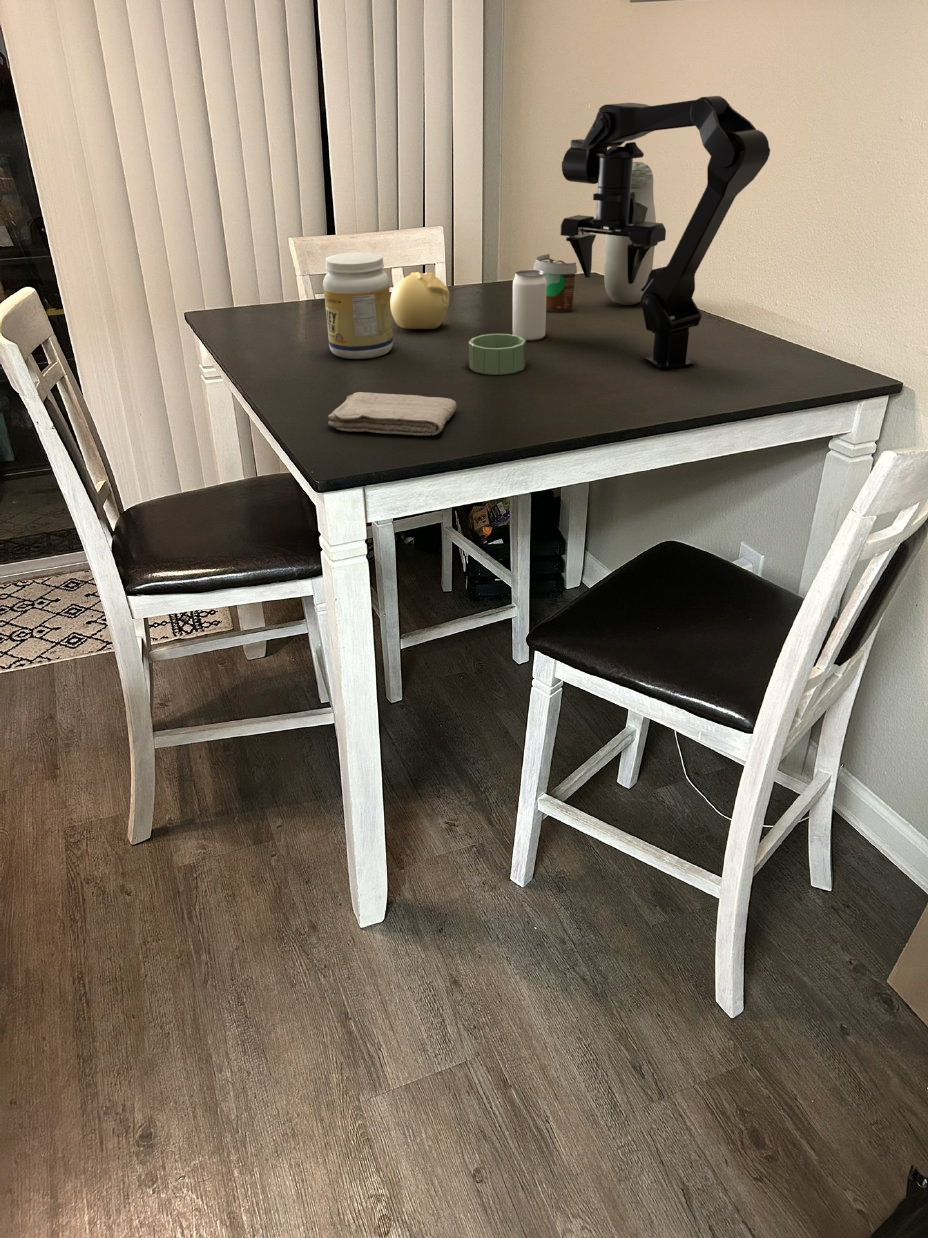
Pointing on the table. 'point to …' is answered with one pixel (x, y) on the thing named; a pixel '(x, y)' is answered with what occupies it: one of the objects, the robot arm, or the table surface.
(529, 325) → the can
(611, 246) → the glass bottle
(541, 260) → the food container
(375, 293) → the supplement tub
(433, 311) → the sculpture
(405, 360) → the table surface
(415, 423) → the washcloth
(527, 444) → the table surface
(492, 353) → the segmented ring
